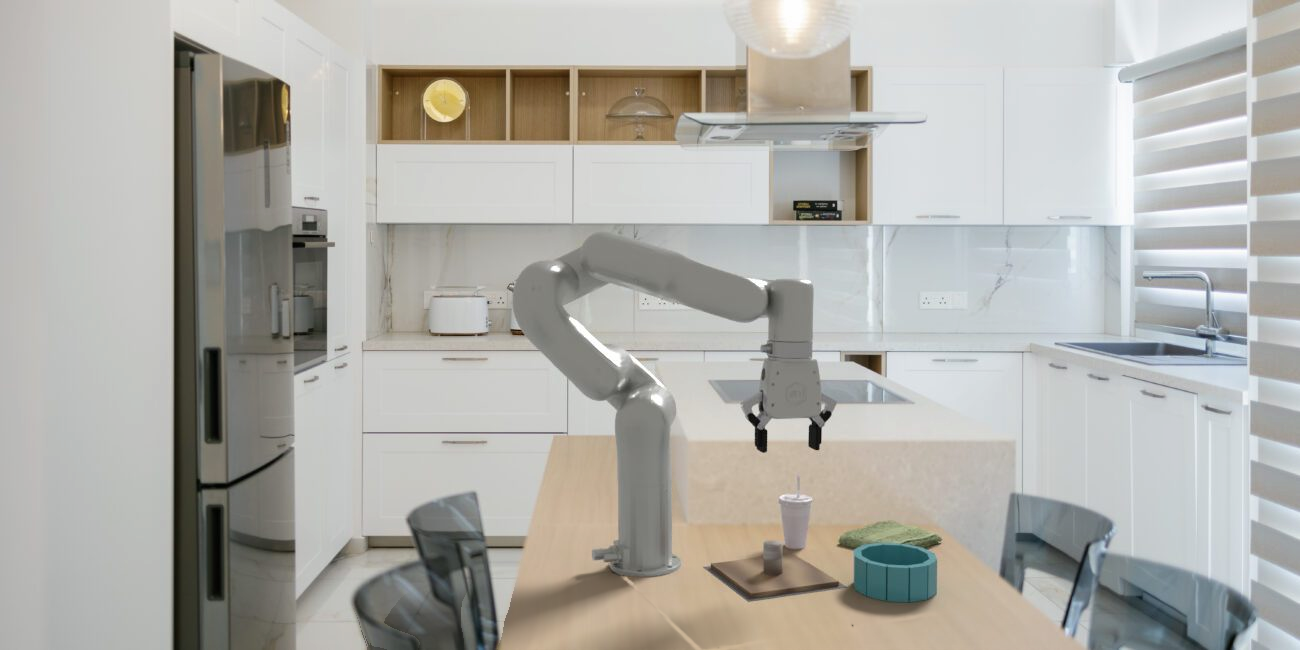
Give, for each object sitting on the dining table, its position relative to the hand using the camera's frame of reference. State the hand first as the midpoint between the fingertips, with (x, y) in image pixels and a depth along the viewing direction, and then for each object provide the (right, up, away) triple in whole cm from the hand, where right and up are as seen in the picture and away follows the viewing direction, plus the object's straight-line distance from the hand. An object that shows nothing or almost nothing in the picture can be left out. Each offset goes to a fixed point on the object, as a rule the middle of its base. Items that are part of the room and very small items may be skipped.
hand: (788, 449), depth 163 cm
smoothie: (+4, -21, +15) cm, 26 cm away
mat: (-3, -22, -2) cm, 22 cm away
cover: (-3, -21, -2) cm, 22 cm away
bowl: (+16, -22, -8) cm, 28 cm away
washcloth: (+22, -21, +17) cm, 35 cm away
